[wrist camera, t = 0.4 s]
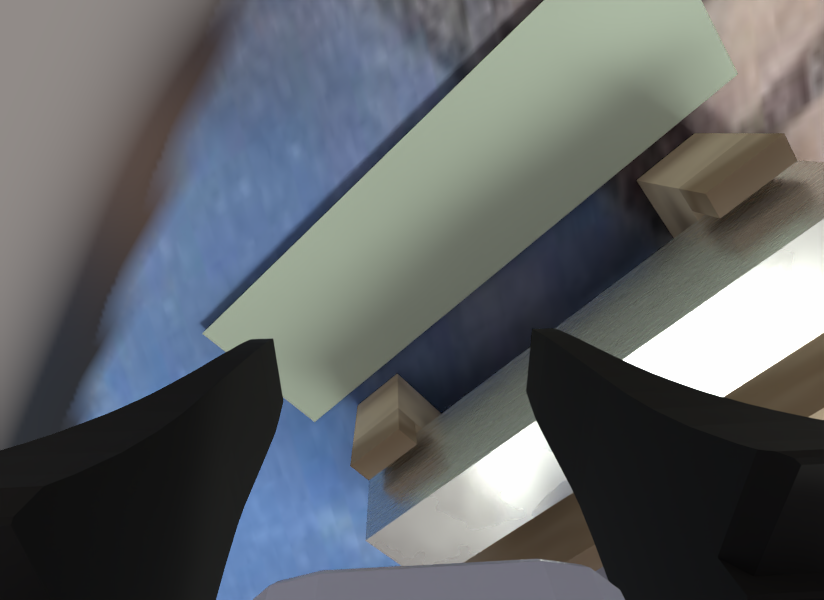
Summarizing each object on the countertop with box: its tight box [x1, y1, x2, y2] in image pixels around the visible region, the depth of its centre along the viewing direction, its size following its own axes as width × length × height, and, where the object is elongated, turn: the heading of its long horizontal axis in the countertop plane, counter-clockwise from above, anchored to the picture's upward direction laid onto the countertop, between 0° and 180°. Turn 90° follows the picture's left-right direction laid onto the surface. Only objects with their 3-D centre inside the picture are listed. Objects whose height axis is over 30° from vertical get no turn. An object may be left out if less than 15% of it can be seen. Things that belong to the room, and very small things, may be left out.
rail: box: [366, 161, 824, 566], centre depth 17 cm, size 4×22×4 cm, turn 132°
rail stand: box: [350, 133, 824, 571], centre depth 19 cm, size 10×26×7 cm, turn 132°
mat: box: [203, 0, 738, 422], centre depth 19 cm, size 8×26×1 cm, turn 132°
